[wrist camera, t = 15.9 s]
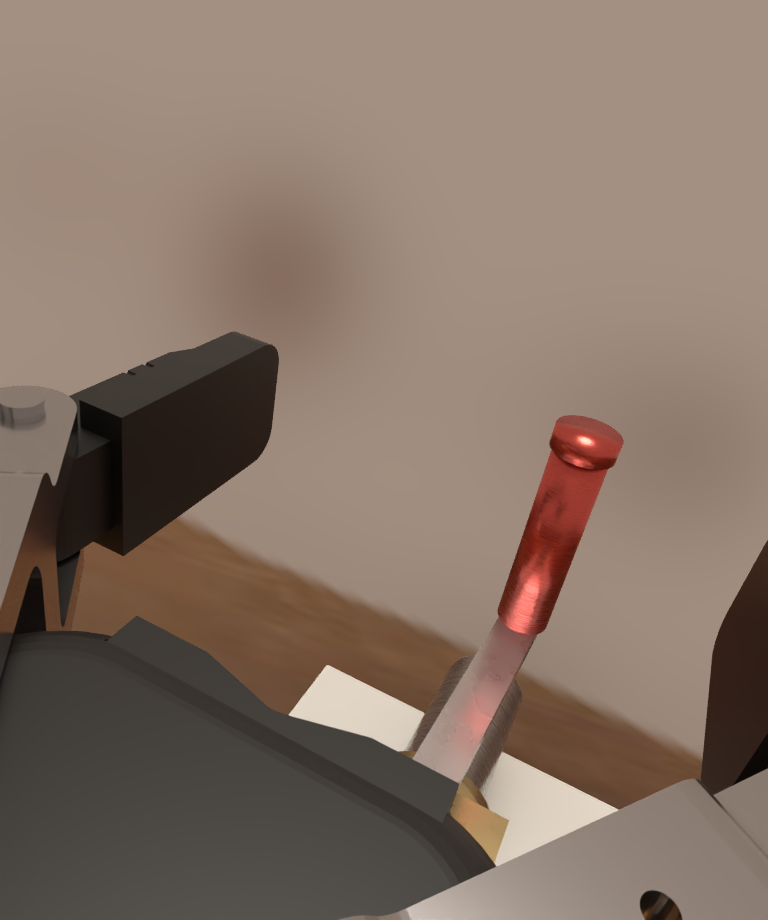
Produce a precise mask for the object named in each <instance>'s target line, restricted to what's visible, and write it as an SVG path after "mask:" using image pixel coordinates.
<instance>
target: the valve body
mask: <svg viewBox="0 0 768 920" xmlns="http://www.w3.org/2000/svg"><path fill="white" fill-rule="evenodd" d="M474 657H475V656H466V657H462V658H460V659H458V660H456V661H455V662H454V663H453V664H452V665H451V667H450V668H449V670H448V672H447V674H446V676H445V677H444V679H443V681H442V683H441V685H440V686H439V688H438V690H437V692H436V694H435V696H434V697H433V699H432V701H431V703H430V705H429V707H428V708H427V710H426V712H425V714H424V716H423V718H422V719H421V721H420V723H419V725H418V727H417V728H416V730H415V732H414V734H413V736H412V738H411V739H410V741H409V743H408V745H407V747H406V749H405V750H404V751H399V752H400V753H402V754H403V755H405V756H407V757H409V758H411V759H413V757H414V756H415V754H416V752H417V751H418V749H419V747H420V746H421V744H422V742H423V741H424V739H425V738H426V736H427V734H428V733H429V731H430V729H431V728H432V726H433V724H434V723H435V721H436V719H437V718H438V716H439V715H440V713H441V711H442V710H443V708H444V706H445V705H446V703H447V701H448V700H449V698H450V696H451V695H452V693H453V692H454V690H455V688H456V687H457V685H458V683H459V682H460V680H461V678H462V677H463V675H464V674H465V672H466V670H467V669H468V667H469V665H470V664H471V662H472V660H473V659H474ZM521 702H522V692H521V688H520V686H519V684H518V682H517V680H516V679H514V681H513V683H512V685H511V687H510V689H509V691H508V693H507V695H506V697H505V699H504V701H503V702H502V704H501V706H500V708H499V710H498V712H497V714H496V716H495V718H494V720H493V722H492V724H491V726H490V728H489V730H488V732H487V733H486V735H485V737H484V739H483V741H482V743H481V745H480V747H479V749H478V751H477V753H476V755H475V757H474V759H473V761H472V763H471V764H470V766H469V768H468V770H467V772H466V774H465V776H464V778H463V780H462V782H461V784H460V786H459V788H458V790H457V793H456V796H455V798H454V801H453V804H452V807H451V809H450V812H451V816H452V817H453V818H454V819H455V820H456V821H458V822H459V823H460V824H461V825H462V826H463V827H464V828H465V829H466V830H467V831H468V832H469V833H470V834H471V835H472V836H473V837H474V839H475V840H476V841H477V842H478V843H479V844H480V845H481V846H482V847H483V849H484V850H485V851H486V853H487V854H488V855H489V857H490V858H491V859H492V861H493V862H495V859H496V857H497V854H498V851H499V848H500V845H501V842H502V840H503V837H504V834H505V831H506V828H507V825H508V822H509V820H508V819H506V818H504V817H502V816H500V815H498V814H496V813H494V812H492V811H491V810H489V807H488V804H487V802H486V800H485V798H484V796H485V794H486V791H487V789H488V786H489V784H490V781H491V779H492V776H493V774H494V771H495V769H496V766H497V764H498V761H499V758H500V756H501V753H502V751H503V748H504V746H505V743H506V741H507V738H508V736H509V733H510V731H511V728H512V726H513V723H514V721H515V718H516V716H517V713H518V711H519V708H520V705H521Z"/></svg>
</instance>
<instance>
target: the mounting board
mask: <svg viewBox="0 0 768 920" xmlns="http://www.w3.org/2000/svg"><path fill="white" fill-rule="evenodd" d="M424 714H425V713H423V712H421V711H419V710H417V709H415V708H413V707H411V706H409V705H407V704H405V703H403V702H401V701H399V700H397V699H395V698H393V697H391V696H389V695H387V694H385V693H383V692H381V691H379V690H377V689H375V688H373V687H371V686H369V685H367V684H365V683H363V682H361V681H359V680H357V679H355V678H353V677H351V676H349V675H347V674H345V673H343V672H341V671H339V670H337V669H335V668H333V667H331V666H329V665H327V666H326V667H325V668H324V670H323V671H322V672H321V673H320V675H319V676H318V677H317V679H316V680H315V681H314V683H313V684H312V685H311V687H310V688H309V689H308V690H307V692H306V693H305V694H304V696H303V697H302V698H301V700H300V701H299V702H298V704H297V705H296V706H295V707H294V709H293V710H292V711H291V713H290V714H289V716H292V717H296V718H300V719H303V720H307V721H311V722H315V723H318V724H322V725H326V726H329V727H333V728H337V729H341V730H344V731H348V732H352V733H355V734H359V735H363V736H367V737H370V738H373V739H375V740H377V741H378V742H380V743H382V744H384V745H386V746H388V747H390V748H392V749H394V750H396V751H398V752H399V751H404V750H405V749H406V747H407V745H408V743H409V741H410V739H411V738H412V736H413V734H414V732H415V730H416V728H417V727H418V725H419V723H420V721H421V719H422V718H423V716H424ZM484 798H485V800H486V802H487V804H488V807H489V810H491V811H492V812H494V813H496V814H498V815H500V816H502V817H504V818H506V819H508V820H509V822H508V825H507V828H506V831H505V834H504V837H503V840H502V842H501V845H500V848H499V851H498V854H497V857H496V859H495V862H494V864H495V865H496V866H499V865H501V864H503V863H505V862H508V861H510V860H512V859H514V858H516V857H518V856H521V855H523V854H525V853H527V852H529V851H531V850H534V849H536V848H538V847H540V846H542V845H544V844H547V843H549V842H551V841H553V840H555V839H557V838H559V837H562V836H564V835H566V834H568V833H570V832H572V831H575V830H577V829H579V828H581V827H583V826H585V825H588V824H590V823H592V822H594V821H596V820H598V819H601V818H603V817H605V816H607V815H609V814H611V813H613V812H616V811H618V809H616V808H614V807H612V806H610V805H608V804H606V803H604V802H602V801H600V800H598V799H596V798H594V797H592V796H590V795H588V794H586V793H584V792H582V791H580V790H578V789H576V788H574V787H572V786H570V785H568V784H566V783H564V782H562V781H560V780H558V779H556V778H554V777H552V776H550V775H548V774H546V773H544V772H542V771H540V770H538V769H536V768H534V767H532V766H530V765H528V764H526V763H524V762H522V761H520V760H518V759H515V758H513V757H511V756H509V755H507V754H505V753H503V752H502V753H501V756H500V758H499V761H498V764H497V766H496V769H495V771H494V774H493V776H492V779H491V781H490V784H489V786H488V789H487V791H486V794H485V796H484Z"/></svg>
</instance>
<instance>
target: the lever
mask: <svg viewBox="0 0 768 920" xmlns="http://www.w3.org/2000/svg"><path fill="white" fill-rule="evenodd" d="M549 445H550V448H551V449H552V450H551V453H550V456H549V459H548V462H547V465H546V468H545V471H544V474H543V477H542V479H541V482H540V485H539V488H538V492H537V494H536V497H535V500H534V503H533V506H532V509H531V512H530V515H529V518H528V521H527V524H526V527H525V530H524V533H523V536H522V539H521V542H520V544H519V547H518V550H517V554H516V556H515V559H514V562H513V565H512V568H511V571H510V574H509V577H508V580H507V583H506V586H505V589H504V592H503V595H502V598H501V601H500V604H499V607H498V615H499V618H498V619H497V621H496V623H495V624H494V626H493V628H492V629H491V631H490V632H489V634H488V636H487V637H486V639H485V641H484V642H483V644H482V646H481V647H480V649H479V651H478V652H477V654H476V655H475V657H474V659H473V660H472V662H471V664H470V665H469V667H468V669H467V670H466V672H465V674H464V675H463V677H462V678H461V680H460V682H459V683H458V685H457V687H456V688H455V690H454V692H453V693H452V695H451V696H450V698H449V700H448V701H447V703H446V705H445V706H444V708H443V710H442V711H441V713H440V715H439V716H438V718H437V719H436V721H435V723H434V724H433V726H432V728H431V729H430V731H429V733H428V734H427V736H426V738H425V739H424V741H423V742H422V744H421V746H420V747H419V749H418V751H417V752H416V754H415V756H414V757H413V760H415V761H417V762H419V763H421V764H423V765H425V766H427V767H428V768H430V769H432V770H434V771H436V772H438V773H440V774H442V775H444V776H446V777H448V778H450V779H452V780H453V781H455V782H457V783H459V784H461V782H462V780H463V778H464V776H465V774H466V772H467V770H468V768H469V766H470V764H471V763H472V761H473V759H474V757H475V755H476V753H477V751H478V749H479V747H480V745H481V743H482V741H483V739H484V737H485V735H486V733H487V732H488V730H489V728H490V726H491V724H492V722H493V720H494V718H495V716H496V714H497V712H498V710H499V708H500V706H501V704H502V702H503V701H504V699H505V697H506V695H507V693H508V691H509V689H510V687H511V685H512V683H513V681H514V679H515V677H516V675H517V673H518V671H519V670H520V668H521V666H522V664H523V662H524V660H525V658H526V656H527V654H528V652H529V650H530V648H531V646H532V644H533V642H534V640H535V638H536V637H537V635H538V634H539V633H541V632H542V631H544V630H545V629H546V626H547V624H548V622H549V619H550V616H551V614H552V611H553V609H554V606H555V603H556V601H557V598H558V596H559V593H560V591H561V588H562V586H563V583H564V581H565V578H566V575H567V573H568V570H569V568H570V565H571V563H572V560H573V558H574V555H575V552H576V550H577V547H578V545H579V542H580V540H581V537H582V535H583V532H584V529H585V526H586V524H587V522H588V519H589V517H590V514H591V511H592V509H593V506H594V503H595V501H596V499H597V496H598V494H599V491H600V488H601V486H602V483H603V481H604V478H605V475H606V473H607V470H608V469H609V468H611V467H613V466H614V465H615V463H616V460H617V458H618V455H619V453H620V450H621V448H622V445H623V438H622V436H621V435H620V434H619V433H618V432H617V431H616V430H615V429H613V428H612V427H610V426H609V425H607V424H605V423H603V422H600V421H598V420H595V419H592V418H588V417H583V416H575V415H571V416H570V415H569V416H563V417H560V418H559V419H558V420H557V421H556V424H555V427H554V430H553V433H552V436H551V439H550V442H549ZM459 786H460V785H459ZM458 788H459V787H458ZM449 814H450V815H451V812H449Z"/></svg>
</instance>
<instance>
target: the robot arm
mask: <svg viewBox="0 0 768 920" xmlns="http://www.w3.org/2000/svg"><path fill="white" fill-rule="evenodd" d="M278 364H279V357H278V352H277V349H276V348H275V347H274V346H273V345H271V344H268V343H265V342H262V341H260V340H257V339H254V338H251V337H249V336H246V335H243V334H240V333H238V332H230V333H228V334H225V335H223V336H221V337H219V338H217V339H214V340H212V341H210V342H207V343H205V344H203V345H201V346H198V347H196V348H194V349H188V350H182V351H176V352H170V353H167V354H165V355H163V356H161V357H158V358H156V359H154V360H151V361H149V362H147V363H146V365H145V366H144V365H140V366H138V367H135V368H133V369H130V370H128V373H127V374H126V373H121V374H119V375H117V376H114V377H112V378H110V379H107V380H105V381H103V382H101V383H98V384H96V385H94V386H91V387H89V388H87V389H85V390H82V391H80V392H78V393H75V394H73V395H71V396H67V395H66V394H64V393H62V392H59V391H56V390H53V389H49V388H44V387H34V386H12V387H4V388H0V920H768V541H767V542H766V544H765V546H764V547H763V549H762V551H761V553H760V554H759V556H758V558H757V560H756V562H755V563H754V565H753V567H752V569H751V571H750V573H749V574H748V576H747V578H746V580H745V581H744V583H743V585H742V587H741V589H740V591H739V592H738V594H737V596H736V598H735V599H734V601H733V603H732V605H731V607H730V608H729V610H728V612H727V614H726V616H725V618H724V620H723V622H722V625H721V627H720V630H719V632H718V635H717V638H716V641H715V645H714V650H713V654H712V665H711V675H710V686H709V697H708V707H707V718H706V729H705V740H704V751H703V762H702V772H701V781H700V780H698V779H688V780H684V781H681V782H679V783H676V784H674V785H672V786H670V787H668V788H665V789H663V790H661V791H659V792H657V793H655V794H652V795H650V796H648V797H646V798H644V799H642V800H639V801H637V802H635V803H633V804H631V805H629V806H626V807H624V808H622V809H620V810H618V811H616V812H613V813H611V814H609V815H607V816H605V817H603V818H601V819H598V820H596V821H594V822H592V823H590V824H588V825H585V826H583V827H581V828H579V829H577V830H575V831H572V832H570V833H568V834H566V835H564V836H562V837H559V838H557V839H555V840H553V841H551V842H549V843H547V844H544V845H542V846H540V847H538V848H536V849H534V850H531V851H529V852H527V853H525V854H523V855H521V856H518V857H516V858H514V859H512V860H510V861H508V862H505V863H503V864H501V865H499V866H496V865H495V864H494V862H493V861H492V859H491V858H490V857H489V855H488V854H487V853H486V851H485V850H484V849H483V847H482V846H481V845H480V844H479V843H478V842H477V841H476V840H475V839H474V837H473V836H472V835H471V834H470V833H469V832H468V831H467V830H466V829H465V828H464V827H463V826H462V825H461V824H460V823H459V822H458V821H456V820H455V819H454V818H453V817H452V816H451V815H450V814H449V812H450V809H451V807H452V804H453V801H454V798H455V796H456V793H457V790H458V787H459V785H460V784H459V783H457V782H455V781H453V780H452V779H450V778H448V777H446V776H444V775H442V774H440V773H438V772H436V771H434V770H432V769H430V768H428V767H427V766H425V765H423V764H421V763H419V762H417V761H415V760H413V759H411V758H409V757H407V756H405V755H403V754H402V753H400V752H398V751H396V750H394V749H392V748H390V747H388V746H386V745H384V744H382V743H380V742H378V741H377V740H375V739H373V738H370V737H367V736H363V735H359V734H355V733H352V732H348V731H344V730H341V729H337V728H333V727H329V726H326V725H322V724H318V723H315V722H311V721H307V720H303V719H300V718H296V717H292V716H289V715H285V714H282V713H279V712H276V711H274V710H272V709H270V708H269V707H268V706H266V705H265V704H264V703H263V702H262V701H261V700H260V699H259V698H257V697H256V696H255V695H254V694H253V693H252V692H251V691H250V690H249V689H247V688H246V687H245V686H244V685H243V684H242V683H241V682H240V681H239V680H237V679H236V678H235V677H234V676H233V675H232V674H231V673H230V672H229V671H227V670H226V669H225V668H224V667H223V666H222V665H221V664H220V663H219V662H218V661H216V660H215V659H214V658H213V657H212V656H211V655H210V654H209V653H207V652H205V651H204V650H202V649H200V648H198V647H196V646H194V645H192V644H190V643H188V642H186V641H184V640H182V639H180V638H179V637H177V636H175V635H173V634H171V633H169V632H167V631H165V630H163V629H161V628H159V627H157V626H155V625H154V624H152V623H150V622H148V621H146V620H144V619H142V618H140V617H138V616H136V617H135V618H134V619H132V620H131V621H130V622H129V623H128V624H126V625H125V626H124V627H123V628H122V629H120V630H119V631H118V632H117V633H116V634H114V635H113V636H108V635H104V634H97V633H90V632H82V631H71V628H72V623H73V618H74V613H75V608H76V603H77V598H78V593H79V588H80V583H81V578H82V573H83V568H84V547H85V546H87V545H88V544H90V543H91V542H93V541H94V542H96V543H98V544H100V545H102V546H104V547H106V548H108V549H110V550H112V551H114V552H116V553H118V554H120V555H122V556H124V555H126V554H127V553H128V552H130V551H131V550H133V549H134V548H135V547H137V546H138V545H140V544H141V543H142V542H144V541H145V540H146V539H148V538H149V537H151V536H152V535H153V534H155V533H156V532H158V531H159V530H160V529H162V528H163V527H164V526H166V525H167V524H169V523H170V522H171V521H173V520H174V519H176V518H177V517H178V516H180V515H181V514H183V513H184V512H185V511H187V510H188V509H189V508H191V507H192V506H194V505H195V504H196V503H198V502H199V501H201V500H202V499H203V498H205V497H206V496H207V495H209V494H210V493H212V492H213V491H214V490H216V489H217V488H218V487H220V486H221V485H223V484H224V483H225V482H227V481H228V480H230V479H231V478H232V477H234V476H235V475H237V474H238V473H239V472H241V471H242V470H243V469H245V468H246V467H248V466H249V465H250V464H251V463H253V462H254V461H255V460H257V459H258V458H259V456H260V455H261V454H262V452H263V450H264V449H265V447H266V445H267V443H268V440H269V437H270V434H271V429H272V420H273V411H274V401H275V393H276V383H277V374H278Z"/></svg>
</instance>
